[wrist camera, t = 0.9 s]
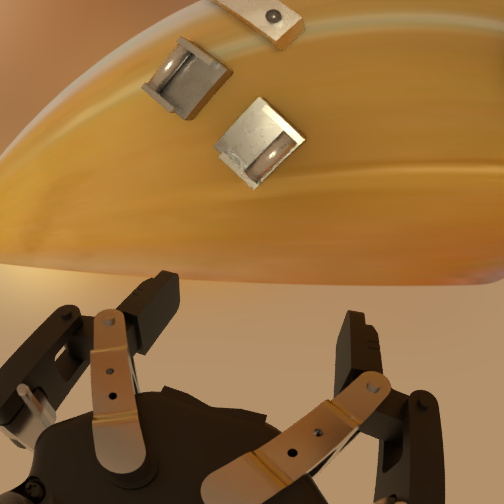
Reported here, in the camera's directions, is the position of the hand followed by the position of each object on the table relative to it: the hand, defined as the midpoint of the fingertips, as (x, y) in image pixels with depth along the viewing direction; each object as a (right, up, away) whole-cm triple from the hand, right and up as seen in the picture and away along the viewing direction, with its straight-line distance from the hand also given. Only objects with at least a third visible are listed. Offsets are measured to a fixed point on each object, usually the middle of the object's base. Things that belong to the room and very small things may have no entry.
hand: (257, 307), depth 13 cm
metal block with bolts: (0, +31, +14) cm, 34 cm away
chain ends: (-3, +20, +20) cm, 28 cm away
